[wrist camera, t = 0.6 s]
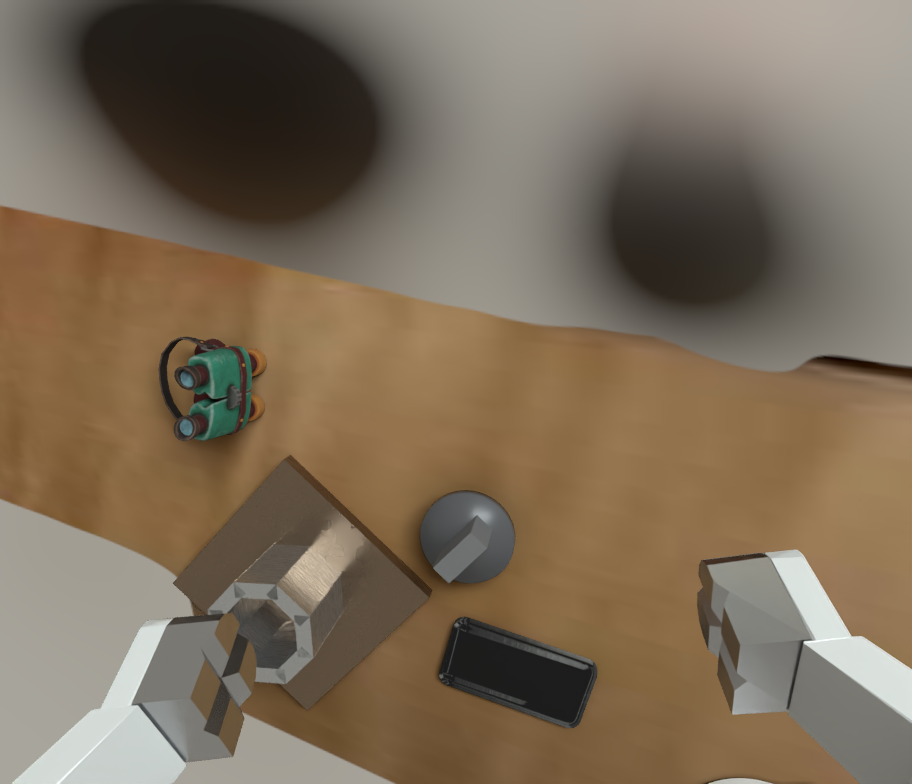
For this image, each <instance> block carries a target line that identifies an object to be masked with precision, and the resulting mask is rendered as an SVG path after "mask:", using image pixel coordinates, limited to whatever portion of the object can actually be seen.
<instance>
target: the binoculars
mask: <svg viewBox="0 0 912 784" xmlns="http://www.w3.org/2000/svg"><path fill="white" fill-rule="evenodd" d="M183 339H184V340H189V341H191V342H193V343H195V344H197V347H196V349H195V356H193V357H191V358H190V359H189V361H188V366H184V367H179V368H177V369H176V370H175V379H176V381H177V383H178V384H179V385H180V386H181V387H182V388H184V389H186V390H193V391H194V392H195V395H194V404H193V405H192V407H191V408H190V411H189V415H187V416H183V415H182V414H181V413H180V411H179V410H178V408H177V407H176V405H175V404H174V402H173V399H172V396H171V393H170V390H169V385H168V380H167V363H168V358H169V353H170V352H171V351H172V349H173V348H174V347H175V345H176V344H177V343H178V342H179V341H181V340H183ZM265 368H266V359H265V356H264V355H263V354H262V353H261V352H260V351H259V350H256V349H248V350H245V349H244V348H242V347H239V346H228V345H226V346H225V344H223V343H222V342H221V341H219V340H216V339H210V340H207V341H204V340H198V339H196V338H191V337H180V338H177V339H175V340H173V341H171V342H170V343H169V345H168V346H167V347H166V349H165V350H164V351H163V353H162V354H161V359H160V364H159V381H160V387H161V392H162V395H163V398H164V401H165V404H166V406H167V407H168V409H169V410H170V412H171V413H172V415H173V416H174V418H175V419H177V421H176V423H175V425H174V434H175V436H176V437H177V438H178V439H179V440H181V441H187V440H190V439H192V438H194V439H197V440H201V441H204V440H209V439H212V438H216V437H219V436H223V435H231V434H234V433H236V432H237V431H239V430H241V429H243V428H244V427H245V425H246V424H247V421H252V420H254V419H257V418H259V417H260V416H261V415H262V414H263V412H264V403H263V401H262V399H261V398H260V397H259V396H257V395H255V394H251V392H246V391H249V390H251V385H252V376H256V375H259V374H261V373H262V372H263V371H264V370H265Z"/></svg>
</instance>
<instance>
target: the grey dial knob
mask: <svg viewBox="0 0 912 784" xmlns="http://www.w3.org/2000/svg"><path fill="white" fill-rule="evenodd" d="M420 540H421V545H422V549H423V552H424V554H425V556H426V558H427V560H428V561H429V562H430V564H431V565H432V566H433V569H434V570H435V571H436V572H437V573H438V574H439V575H441V576H442V577H443V578H444V579H445V580H446V581H447V582H448V583H450V582H451V581H452V580H455V581H458V582H462V583H479V582H483V581H487V580H489V579H491V578H493V577H495V576H497V575H498V574H499V573H500V572H502V570H503V569H504V568H505V567H506V566H507V564H508V563H509V561H510V559H511V557H512V554H513V550H514V544H515V530H514V526H513V523H512V520H511V518H510V516H509V514H508V513H507V511H506V510H505V509H504V508H503V507H502V506H501V504H499V503H498V502H497V501H496V500H494V499H493V498H491V497H489V496H487V495H485V494H483V493H480V492H476V491H469V490H462V491H455V492H452V493H449V494H446V495H444V496H442V497H441V498H439V499H438V500H437V501H436V502H434V504H433V505H432V506H431V507H430V509H429V510H428V512H427V513H426V515H425V517H424V519H423V522H422V525H421V531H420Z"/></svg>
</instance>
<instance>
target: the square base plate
mask: <svg viewBox="0 0 912 784" xmlns="http://www.w3.org/2000/svg"><path fill="white" fill-rule="evenodd" d="M173 584H174V585H175V586H176V587H177V588H178V589H179V590H181V591H182V592H183V593H184V594H185V595H186V596H187V597H188V598H189V599H190V600H191V601H192V602H193V603H194V604H195V605H196V606H197V607H198V608H200V609H201V610H202V611H203V612H204V613H205V614H206V615H213V614H225V613H233V615H234V616H235V618H236V619H237V621H238V622H239V624H240V626H239V629H238V632H237V633H238V634H240V635H241V636H243V637H245V638H247V639H249V641H250V642H251V644H252V646H253V648H254V652H255V656H256V660H257V661H256V679H255V682H267V683H279V684H280V685H281V686H282V687H283V688H284V689H285V690H286V691H287V692H288V693H289V694H290V695H291V696H293V697H294V698H295V699H296V700H297V701H298V702H299V703H300V704H301V705H302V706H303V707H304V708H305V709H306V710H308V709H309V708H310V707H311V706H312V705H314V704H315V703H316V702H317V701H318V700H319V699H320V698H321V697H322V696H323V695H324V694H325V693H327V692H328V691H329V690H330V689H331V688H332V687H333V686H334V685H335V684H336V683H337V682H338V681H340V680H341V679H342V678H343V677H344V676H345V675H346V674H347V673H348V672H349V671H350V670H351V669H353V668H354V667H355V666H356V665H357V664H358V663H359V662H360V661H361V660H362V659H363V658H364V657H366V656H367V655H368V654H369V653H370V652H371V651H372V650H373V649H374V648H375V647H376V646H377V645H379V644H380V643H381V642H382V641H383V640H384V639H385V638H386V637H387V636H388V635H389V634H390V633H392V632H393V631H394V630H395V629H396V628H397V627H398V626H399V625H400V624H401V623H402V622H403V621H405V620H406V619H407V618H408V617H409V616H410V615H411V614H412V613H413V612H414V611H415V610H416V609H418V608H419V607H420V606H421V605H422V604H423V603H424V602H425V601H426V600H427V599H428V598H429V597H430V595H431V592H432V589H431V588H429V587H428V586H427V585H426V584H425V583H424V582H423V581H422V580H421V579H420V578H419V577H418V576H417V575H416V574H415V573H414V572H413V571H412V570H411V569H410V568H409V567H407V566H406V565H405V564H404V563H403V562H402V561H401V560H400V559H399V558H398V557H397V556H396V555H395V554H394V553H393V552H392V551H391V550H390V549H389V548H388V547H387V546H385V545H384V544H383V543H382V542H381V541H380V540H379V539H378V538H377V537H376V536H375V535H374V534H373V533H372V532H371V531H370V530H369V529H368V528H367V527H366V526H364V525H363V524H362V523H361V522H360V521H359V520H358V519H357V518H356V517H355V516H354V515H353V514H352V513H351V512H350V511H349V510H348V509H347V508H346V507H345V506H344V505H342V504H341V503H340V502H339V501H338V500H337V499H336V498H335V497H334V496H333V495H332V494H331V493H330V492H329V491H328V490H327V489H326V488H325V487H324V486H323V485H321V484H320V483H319V482H318V481H317V480H316V479H315V478H314V477H313V476H312V475H311V474H310V473H309V472H308V471H307V470H306V469H305V468H304V467H303V466H302V465H301V464H299V463H298V462H297V461H296V460H295V459H294V458H293V457H292V456H291V455H290V456H289V457H287V458H286V459H284V460H283V461H282V463H281V464H280V465H279V466H278V467H277V468H276V469H275V470H274V471H273V473H272V474H271V475H270V476H269V477H268V478H267V479H266V480H265V481H264V483H263V484H262V485H261V486H260V487H259V488H258V489H257V490H256V491H255V493H254V494H253V495H252V496H251V497H250V498H249V499H248V500H247V501H246V502H245V504H244V505H243V506H242V507H241V508H240V509H239V510H238V511H237V512H236V514H235V515H234V516H233V517H232V518H231V519H230V520H229V521H228V522H227V524H226V525H225V526H224V527H223V528H222V529H221V530H220V531H219V532H218V534H217V535H216V536H215V537H214V538H213V539H212V540H211V541H210V542H209V544H208V545H207V546H206V547H205V548H204V549H203V550H202V551H201V552H200V553H199V555H198V556H197V557H196V558H195V559H194V560H193V561H192V562H191V563H190V565H189V566H188V567H187V568H186V569H185V570H184V571H183V572H182V573H181V575H180V576H179V577H178V578H177V579H176V580H175V581H174V582H173Z"/></svg>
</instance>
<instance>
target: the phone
mask: <svg viewBox="0 0 912 784" xmlns="http://www.w3.org/2000/svg"><path fill="white" fill-rule="evenodd" d="M439 676H440V679H441V681H442V682H443V683H444V684H446V685H448V686H451V687H454V688H457V689H459V690H462V691H465V692H468V693H471V694H474V695H476V696H479V697H482V698H485V699H488V700H490V701H493V702H496V703H499V704H502V705H504V706H507V707H510V708H513V709H516V710H519V711H521V712H524V713H527V714H530V715H533V716H535V717H538V718H541V719H544V720H547V721H549V722H552V723H555V724H558V725H561V726H563V727H567V728H574V727H576V726H577V725H579V723H580V721H581V718H582V716H583V713H584V710H585V707H586V705H587V702H588V699H589V697H590V694H591V691H592V689H593V686H594V683H595V681H596V678H597V667H596V664H595V663H594V662H593V661H592V660H590V659H588V658H585V657H582V656H579V655H576V654H573V653H570V652H567V651H564V650H561V649H558V648H556V647H553V646H550V645H547V644H544V643H541V642H538V641H535V640H532V639H529V638H526V637H523V636H521V635H518V634H515V633H512V632H509V631H506V630H503V629H500V628H497V627H494V626H491V625H488V624H486V623H483V622H480V621H477V620H474V619H471V618H468V617H460V618H458V619H457V620H456V621H455V623H454V626H453V629H452V632H451V636H450V639H449V642H448V646H447V649H446V652H445V656H444V659H443V662H442V666H441V669H440V673H439Z"/></svg>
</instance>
